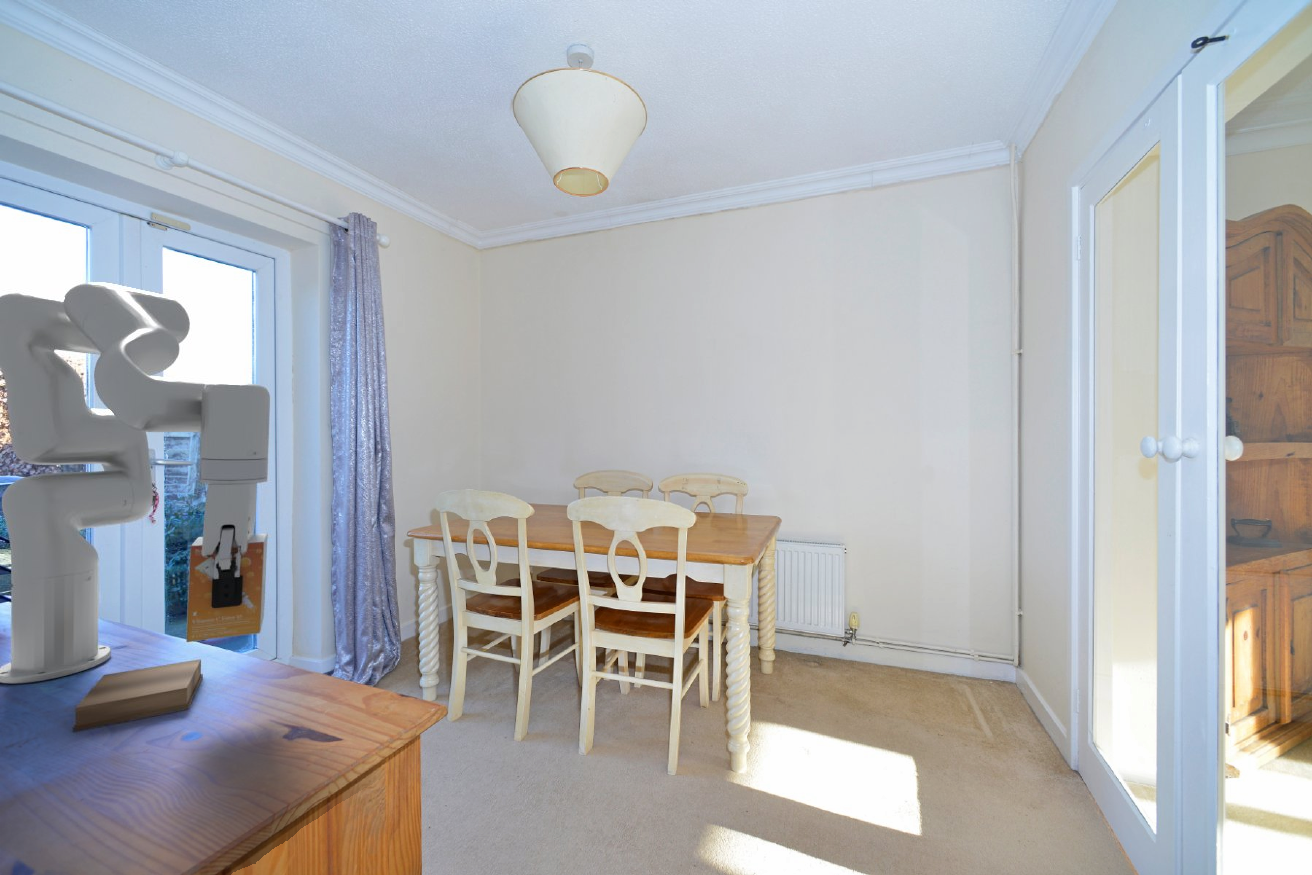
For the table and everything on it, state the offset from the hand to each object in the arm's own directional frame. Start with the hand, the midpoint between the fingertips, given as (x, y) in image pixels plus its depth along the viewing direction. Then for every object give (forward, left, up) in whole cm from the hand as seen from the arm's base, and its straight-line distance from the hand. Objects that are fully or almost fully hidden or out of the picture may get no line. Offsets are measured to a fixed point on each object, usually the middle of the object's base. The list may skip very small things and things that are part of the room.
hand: (230, 597), depth 76 cm
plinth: (-8, -11, -16) cm, 21 cm away
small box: (0, 0, -5) cm, 5 cm away
